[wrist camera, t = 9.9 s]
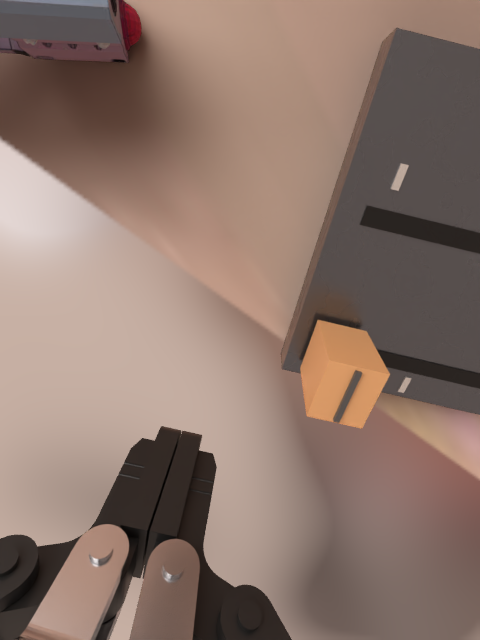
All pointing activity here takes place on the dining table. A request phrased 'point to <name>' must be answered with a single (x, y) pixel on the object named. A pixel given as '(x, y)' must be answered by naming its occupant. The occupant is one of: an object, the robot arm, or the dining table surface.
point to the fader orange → (341, 374)
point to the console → (407, 226)
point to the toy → (69, 29)
